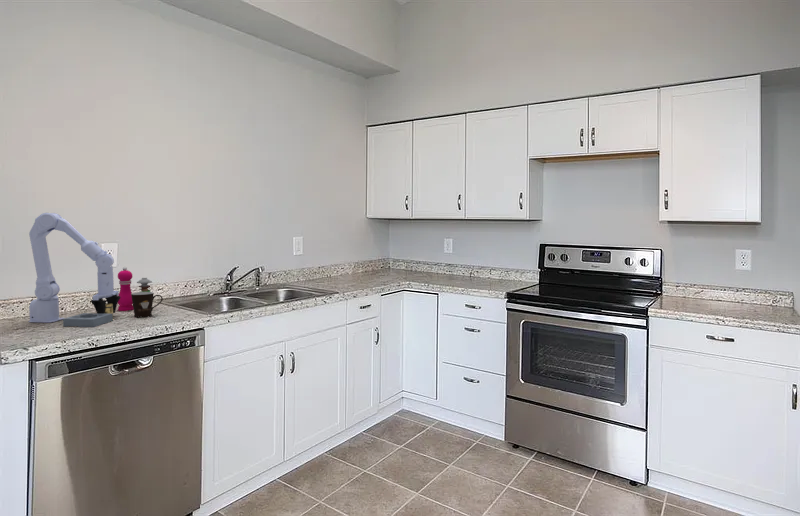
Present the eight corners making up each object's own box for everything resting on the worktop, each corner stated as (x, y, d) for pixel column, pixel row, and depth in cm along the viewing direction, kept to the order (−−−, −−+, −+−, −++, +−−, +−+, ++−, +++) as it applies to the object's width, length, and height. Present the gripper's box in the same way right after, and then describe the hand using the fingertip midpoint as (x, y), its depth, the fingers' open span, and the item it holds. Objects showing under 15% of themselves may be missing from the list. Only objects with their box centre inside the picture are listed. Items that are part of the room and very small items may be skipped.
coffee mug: (129, 318, 206) (128, 294, 205) (134, 314, 214) (134, 292, 213) (159, 317, 209) (158, 294, 208) (163, 313, 217) (163, 291, 216)
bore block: (63, 326, 188) (63, 318, 188) (84, 320, 200) (83, 313, 200) (93, 327, 188) (93, 319, 188) (112, 320, 200) (112, 313, 200)
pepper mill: (130, 307, 230) (129, 265, 228) (137, 309, 225) (136, 267, 224) (114, 309, 224) (113, 266, 223) (120, 311, 220) (119, 267, 218)
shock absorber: (147, 308, 229) (146, 276, 228) (155, 309, 226) (155, 277, 225) (134, 310, 223) (133, 278, 222) (143, 311, 220) (142, 279, 219)
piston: (97, 319, 203) (96, 304, 203) (104, 316, 208) (104, 302, 208) (108, 319, 203) (108, 305, 203) (116, 317, 208) (115, 303, 208)
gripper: (104, 285, 197) (105, 318, 198) (125, 280, 212) (125, 311, 213) (87, 284, 197) (88, 317, 198) (109, 280, 212) (110, 311, 213)
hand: (106, 314), depth 206 cm, fingers open, 7 cm apart
